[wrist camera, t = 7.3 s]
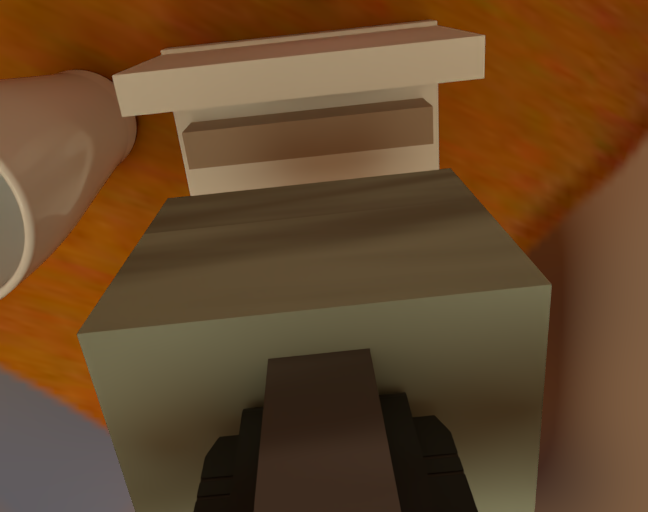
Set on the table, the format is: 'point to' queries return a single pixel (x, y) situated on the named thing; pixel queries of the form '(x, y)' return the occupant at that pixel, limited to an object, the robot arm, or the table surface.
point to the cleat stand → (305, 103)
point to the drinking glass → (53, 161)
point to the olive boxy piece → (323, 342)
